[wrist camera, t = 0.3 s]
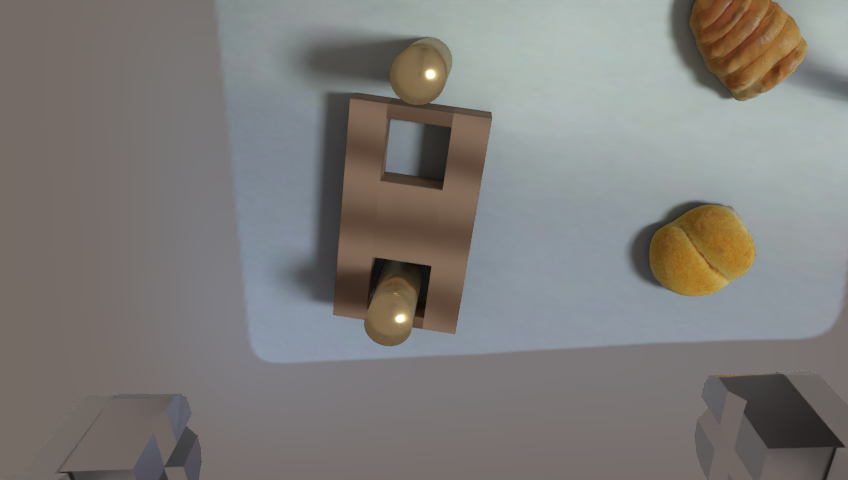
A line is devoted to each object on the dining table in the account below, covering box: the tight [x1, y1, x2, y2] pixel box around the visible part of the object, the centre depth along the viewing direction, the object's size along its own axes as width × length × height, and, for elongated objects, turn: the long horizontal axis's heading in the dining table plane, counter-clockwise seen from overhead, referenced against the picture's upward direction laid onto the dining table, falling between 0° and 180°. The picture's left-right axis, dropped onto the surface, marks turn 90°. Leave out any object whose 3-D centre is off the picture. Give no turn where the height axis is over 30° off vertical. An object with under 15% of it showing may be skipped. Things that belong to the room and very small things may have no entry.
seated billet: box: [364, 259, 422, 346], centre depth 55 cm, size 4×4×10 cm
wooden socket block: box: [333, 93, 492, 334], centre depth 56 cm, size 21×12×3 cm, turn 173°
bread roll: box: [649, 205, 756, 296], centre depth 54 cm, size 8×9×4 cm
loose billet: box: [390, 37, 452, 105], centre depth 47 cm, size 4×4×10 cm
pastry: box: [689, 0, 807, 101], centre depth 47 cm, size 9×7×4 cm
